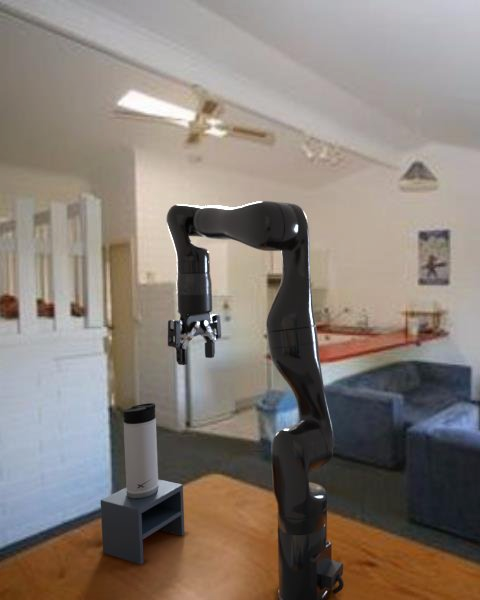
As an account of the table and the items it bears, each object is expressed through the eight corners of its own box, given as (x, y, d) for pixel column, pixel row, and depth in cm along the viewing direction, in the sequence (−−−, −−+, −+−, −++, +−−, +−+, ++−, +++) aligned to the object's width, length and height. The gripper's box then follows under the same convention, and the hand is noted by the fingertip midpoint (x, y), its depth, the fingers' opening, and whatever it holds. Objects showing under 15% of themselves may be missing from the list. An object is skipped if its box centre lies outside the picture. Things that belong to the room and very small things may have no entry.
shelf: (184, 534, 111) (182, 484, 110) (140, 564, 100) (138, 509, 99) (149, 524, 115) (147, 476, 114) (102, 553, 104) (100, 500, 103)
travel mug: (146, 500, 103) (142, 410, 101) (119, 497, 104) (115, 408, 103) (166, 487, 109) (162, 401, 107) (140, 484, 110) (137, 399, 109)
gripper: (183, 294, 103) (185, 368, 105) (228, 291, 116) (230, 356, 118) (157, 293, 106) (159, 365, 107) (204, 290, 119) (206, 354, 120)
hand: (196, 360), depth 112 cm, fingers open, 8 cm apart
